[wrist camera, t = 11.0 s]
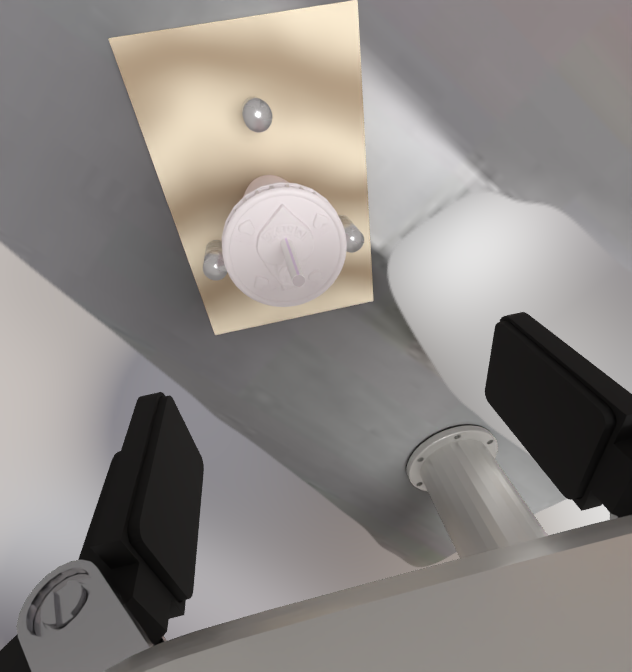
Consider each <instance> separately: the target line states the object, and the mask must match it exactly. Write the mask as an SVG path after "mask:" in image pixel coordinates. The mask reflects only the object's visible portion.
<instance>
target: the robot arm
mask: <svg viewBox="0 0 632 672" xmlns="http://www.w3.org/2000/svg"><path fill="white" fill-rule="evenodd" d="M485 396H486V399H487V401H488V402H489V404H490V405H491V406H492V407H493V409H494V410H495V411H496V412H497V414H498V415H499V416H500V417H501V419H502V420H503V421H504V422H505V424H506V425H507V426H508V427H509V429H510V430H511V431H512V432H513V433H514V435H515V436H516V437H517V438H518V440H519V441H520V442H521V443H522V445H523V446H524V447H525V448H526V450H527V451H528V452H529V453H530V455H531V456H532V457H533V458H534V460H535V461H536V462H537V463H538V465H539V466H540V467H541V468H542V470H543V471H544V472H545V473H546V474H547V476H548V477H549V478H550V479H551V481H552V482H553V483H554V484H555V486H556V487H557V488H558V489H559V491H560V492H561V493H562V494H563V495H564V496H565V497H566V498H567V499H572V500H573V501H574V502H575V503H576V505H577V506H578V507H579V508H580V509H581V510H586V509H589V508H593V507H597V506H601V505H602V504H603V505H604V506H605V507H606V508H607V509H608V511H609V512H610V520H608V521H604V522H599V523H595V524H591V525H587V526H584V527H580V528H576V529H572V530H568V531H564V532H560V533H557V534H553V535H549V536H548V534H547V533H546V532H545V530H544V529H543V527H542V526H541V525H540V523H539V522H538V520H537V519H536V517H535V516H534V514H533V513H532V512H531V510H530V509H529V507H528V506H527V504H526V503H525V501H524V500H523V499H522V497H521V496H520V494H519V493H518V491H517V490H516V489H515V487H514V486H513V484H512V483H511V481H510V480H509V479H508V477H507V476H506V474H505V473H504V471H503V470H502V469H501V467H500V466H499V464H498V463H497V461H496V460H495V458H496V455H497V452H498V444H497V441H496V439H495V438H494V436H493V435H492V434H491V433H490V431H488V430H487V429H485V428H483V427H479V426H471V425H467V426H458V427H454V428H450V429H447V430H444V431H442V432H440V433H438V434H436V435H434V436H432V437H430V438H429V439H427V440H426V441H425V442H423V443H422V444H421V445H420V446H419V447H418V448H417V449H416V450H415V451H414V452H413V454H412V455H411V457H410V459H409V461H408V463H407V469H406V470H407V475H408V477H409V479H410V482H411V483H412V484H413V486H415V487H416V488H418V489H420V490H423V491H428V493H429V495H430V497H431V499H432V501H433V503H434V505H435V507H436V509H437V511H438V514H439V516H440V518H441V520H442V522H443V524H444V526H445V528H446V530H447V532H448V534H449V537H450V539H451V541H452V543H453V545H454V547H455V549H456V551H457V553H458V555H459V557H460V559H457V560H453V561H450V562H446V563H442V564H438V565H435V566H431V567H427V568H423V569H420V570H416V571H412V572H408V573H404V574H401V575H397V576H393V577H389V578H386V579H382V580H378V581H374V582H370V583H367V584H363V585H359V586H356V587H352V588H348V589H345V590H341V591H337V592H334V593H330V594H326V595H322V596H319V597H315V598H312V599H308V600H304V601H301V602H297V603H293V604H289V605H286V606H282V607H278V608H274V609H271V610H267V611H264V612H260V613H257V614H253V615H250V616H247V617H243V618H240V619H236V620H233V621H229V622H226V623H222V624H219V625H215V626H212V627H208V628H205V629H202V630H198V631H195V632H192V633H189V634H186V635H183V636H180V637H177V638H174V639H172V640H169V641H167V640H166V639H165V637H164V634H165V633H166V632H167V627H168V619H170V618H174V617H178V616H181V615H184V611H185V601H186V599H189V598H191V596H192V594H193V586H194V575H195V564H196V552H197V541H198V529H199V517H200V506H201V495H202V494H201V493H202V483H203V471H204V468H203V461H202V457H201V455H200V453H199V451H198V449H197V447H196V445H195V443H194V441H193V439H192V437H191V435H190V433H189V431H188V428H187V426H186V425H185V422H184V420H183V418H182V416H181V415H180V412H179V410H178V408H177V406H176V404H175V402H174V400H173V398H172V397H171V396H165V395H164V394H163V393H162V392H159V393H154V394H150V395H145V396H141V397H139V398H138V400H137V403H136V406H135V409H134V413H133V415H132V419H131V421H130V425H129V428H128V431H127V434H126V437H125V440H124V443H123V446H122V450H121V451H120V452H117V453H116V454H115V455H114V457H113V459H112V462H111V465H110V468H109V471H108V473H107V476H106V479H105V483H104V485H103V488H102V491H101V494H100V497H99V500H98V503H97V506H96V509H95V512H94V515H93V518H92V521H91V524H90V527H89V530H88V533H87V536H86V539H85V542H84V545H83V548H82V551H81V554H80V557H79V560H76V561H71V562H69V563H66V564H64V565H62V566H59V567H58V568H56V569H55V570H54V571H52V572H51V573H49V574H48V575H46V576H45V578H43V579H42V580H41V581H40V582H39V584H37V585H36V587H35V588H34V589H33V590H32V592H31V594H30V595H29V596H28V597H27V599H26V600H25V602H24V604H23V607H22V609H21V611H20V613H19V617H18V622H17V626H16V627H17V635H16V636H15V637H14V638H13V639H12V640H11V641H10V642H9V643H8V644H7V645H6V646H5V647H4V648H3V649H2V650H1V651H0V672H632V394H631V393H629V392H628V391H627V390H626V389H624V388H623V387H622V386H620V385H619V384H618V383H617V382H615V381H614V380H613V379H611V378H610V377H609V376H607V375H606V374H605V373H604V372H602V371H601V370H600V369H598V368H597V367H596V366H594V365H593V364H592V363H591V362H589V361H588V360H587V359H585V358H584V357H583V356H582V355H580V354H579V353H578V352H576V351H575V350H574V349H572V348H571V347H570V346H568V345H567V344H566V343H565V342H563V341H562V340H561V339H559V338H558V337H557V336H556V335H554V334H553V333H552V332H550V331H549V330H548V329H546V328H545V327H544V326H543V325H541V324H540V323H539V322H537V321H536V320H535V319H533V318H532V317H531V316H530V315H528V314H526V313H525V312H521V313H517V314H512V315H507V316H504V317H502V318H501V319H500V322H499V323H497V324H496V326H495V331H494V337H493V343H492V349H491V356H490V362H489V368H488V374H487V381H486V387H485Z"/></svg>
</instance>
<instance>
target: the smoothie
mask: <svg viewBox="0 0 632 672" xmlns="http://www.w3.org/2000/svg"><path fill="white" fill-rule="evenodd" d="M346 250H347V241H346V234H345V230H344V227H343V224H342V222H341V220H340V218H339V216H338V214H337V212H336V210H335V209H334V208H333V207H332V205H331V204H330V203H329V202H328V200H327V199H326V198H325V197H323V196H322V195H320V194H319V193H318V192H316V191H315V190H313V189H311V188H308V187H305V186H303V185H300V184H297V183H289V182H288V181H286V180H284V179H282V178H281V177H278V176H275V175H264V176H260V177H258V178H256V179H255V180H253V181H252V182H251V183H250V184H249V186H248V187H247V189H246V191H245V194H244V196H243V198H242V199H241V200H240V201H239V202H238V203H237V204H236V205H235V206H234V207H233V209H232V211H231V212H230V214H229V216H228V218H227V219H226V221H225V225H224V229H223V233H222V254H223V260H224V264H225V267H226V270H227V272H228V274H229V276H230V278H231V280H232V281H233V282H234V284H235V285H236V286H237V287H238V288H239V289H240V290H241V291H242V292H243V293H244V294H245V295H247V296H248V297H250V298H251V299H253V300H255V301H257V302H260V303H262V304H265V305H269V306H275V307H291V306H297V305H301V304H304V303H307V302H309V301H311V300H313V299H315V298H317V297H318V296H320V295H321V294H323V293H324V292H325V291H326V290H327V289H328V288H329V287H330V286H331V285H332V284H333V283H334V282H335V280H336V279H337V277H338V275H339V274H340V272H341V270H342V267H343V265H344V261H345V258H346Z"/></svg>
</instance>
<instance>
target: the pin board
mask: <svg viewBox="0 0 632 672" xmlns="http://www.w3.org/2000/svg"><path fill="white" fill-rule="evenodd" d="M108 39H109V42H110V44H111V47H112V50H113V53H114V56H115V58H116V61H117V64H118V67H119V69H120V72H121V75H122V78H123V80H124V83H125V86H126V89H127V92H128V94H129V97H130V100H131V103H132V105H133V108H134V111H135V114H136V117H137V119H138V122H139V125H140V128H141V130H142V133H143V136H144V139H145V142H146V144H147V147H148V150H149V153H150V155H151V158H152V161H153V164H154V167H155V169H156V172H157V175H158V178H159V180H160V183H161V186H162V189H163V192H164V194H165V197H166V200H167V203H168V205H169V208H170V211H171V214H172V217H173V219H174V222H175V225H176V228H177V230H178V233H179V236H180V239H181V242H182V244H183V247H184V250H185V253H186V255H187V258H188V261H189V264H190V267H191V269H192V272H193V275H194V278H195V280H196V283H197V286H198V289H199V291H200V294H201V297H202V300H203V303H204V305H205V308H206V311H207V314H208V316H209V319H210V322H211V325H212V328H213V330H214V333H215V335H218V334H223V333H228V332H232V331H237V330H242V329H246V328H251V327H255V326H260V325H265V324H269V323H274V322H278V321H283V320H288V319H292V318H297V317H301V316H306V315H311V314H315V313H320V312H324V311H329V310H334V309H338V308H343V307H347V306H352V305H357V304H361V303H366V302H370V301H373V285H372V266H371V247H370V228H369V209H368V190H367V171H366V152H365V133H364V115H363V96H362V77H361V58H360V39H359V20H358V1H357V0H353V1H347V2H340V3H334V4H327V5H321V6H315V7H308V8H302V9H295V10H289V11H282V12H276V13H269V14H263V15H256V16H250V17H243V18H237V19H230V20H224V21H217V22H211V23H205V24H198V25H192V26H185V27H179V28H172V29H166V30H159V31H153V32H146V33H140V34H133V35H127V36H120V37H114V38H108ZM264 175H275V176H278V177H281V178H282V179H284V180H286V181H288V182H289V183H297V184H300V185H303V186H305V187H308V188H311V189H313V190H315V191H316V192H318V193H319V194H320V195H322V196H323V197H325V198H326V199H327V200H328V202H329V203H330V204H331V205H332V207H333V208H334V209H335V210H336V212H337V214H338V216H339V218H340V220H341V222H342V224H343V227H344V230H345V234H346V241H347V250H346V258H345V261H344V265H343V267H342V270H341V272H340V274H339V275H338V277H337V279H336V280H335V282H334V283H333V284H332V285H331V286H330V287H329V288H328V289H327V290H326V291H325V292H324V293H323V294H321V295H320V296H318V297H317V298H315V299H313V300H311V301H309V302H307V303H304V304H301V305H297V306H291V307H275V306H269V305H265V304H262V303H260V302H257V301H255V300H253V299H251V298H250V297H248V296H247V295H245V294H244V293H243V292H242V291H241V290H240V289H239V288H238V287H237V286H236V285H235V284H234V282H233V281H232V280H231V278H230V276H229V274H228V272H227V270H226V267H225V264H224V260H223V254H222V233H223V229H224V225H225V221H226V219H227V218H228V216H229V214H230V212H231V211H232V209H233V207H234V206H235V205H236V204H237V203H238V202H239V201H240V200H241V199H242V198H243V196H244V194H245V191H246V189H247V187H248V186H249V184H250V183H251V182H252V181H253V180H255V179H256V178H258V177H260V176H264Z"/></svg>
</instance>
